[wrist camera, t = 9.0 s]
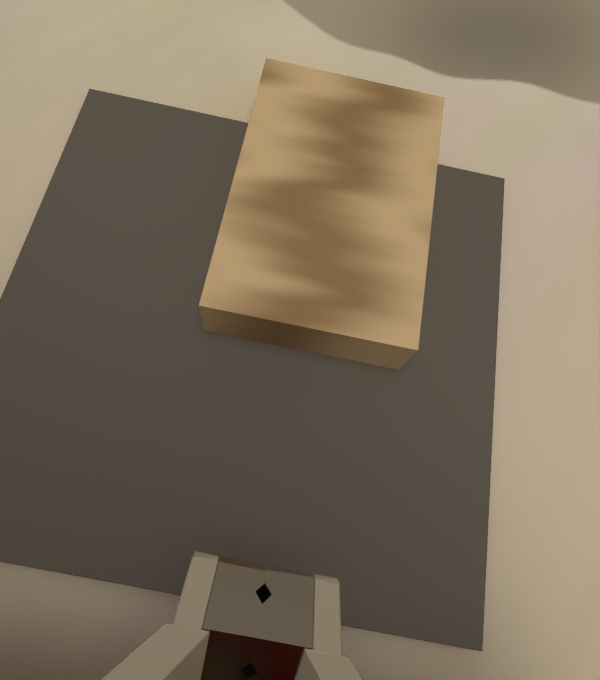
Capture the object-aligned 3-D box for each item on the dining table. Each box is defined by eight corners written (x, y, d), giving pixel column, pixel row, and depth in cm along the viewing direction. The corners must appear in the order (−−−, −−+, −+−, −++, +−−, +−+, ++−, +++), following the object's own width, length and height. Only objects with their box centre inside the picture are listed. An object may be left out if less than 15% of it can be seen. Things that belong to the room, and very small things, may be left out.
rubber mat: (-96, 541, 17) (-103, 542, 17) (92, 95, 24) (89, 88, 24) (477, 648, 18) (482, 651, 18) (500, 183, 25) (504, 178, 25)
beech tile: (198, 305, 18) (266, 58, 22) (203, 330, 21) (264, 102, 25) (418, 350, 19) (444, 97, 23) (398, 370, 21) (425, 137, 25)
